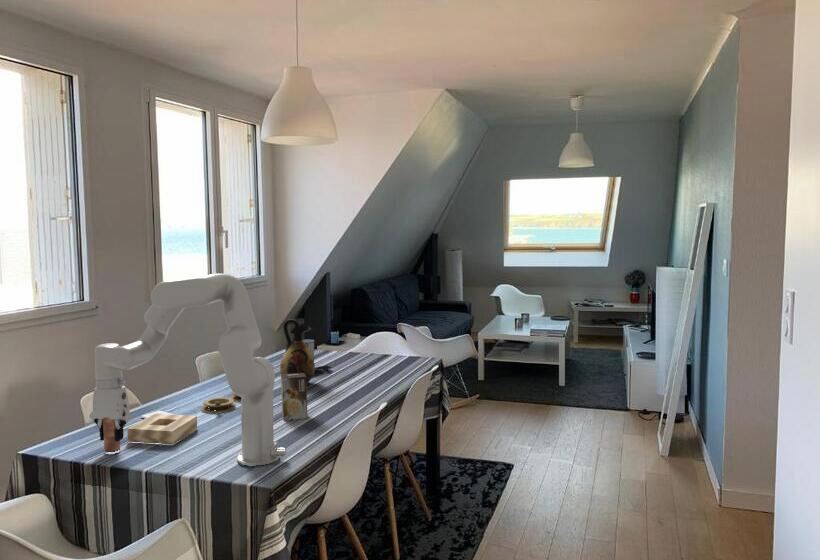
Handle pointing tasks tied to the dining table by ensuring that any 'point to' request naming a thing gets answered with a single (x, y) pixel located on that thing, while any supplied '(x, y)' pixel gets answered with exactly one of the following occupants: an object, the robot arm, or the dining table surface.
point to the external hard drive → (155, 413)
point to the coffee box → (294, 396)
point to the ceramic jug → (297, 352)
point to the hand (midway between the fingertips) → (111, 438)
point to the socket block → (162, 429)
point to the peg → (110, 436)
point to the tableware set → (220, 404)
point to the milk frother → (311, 348)
